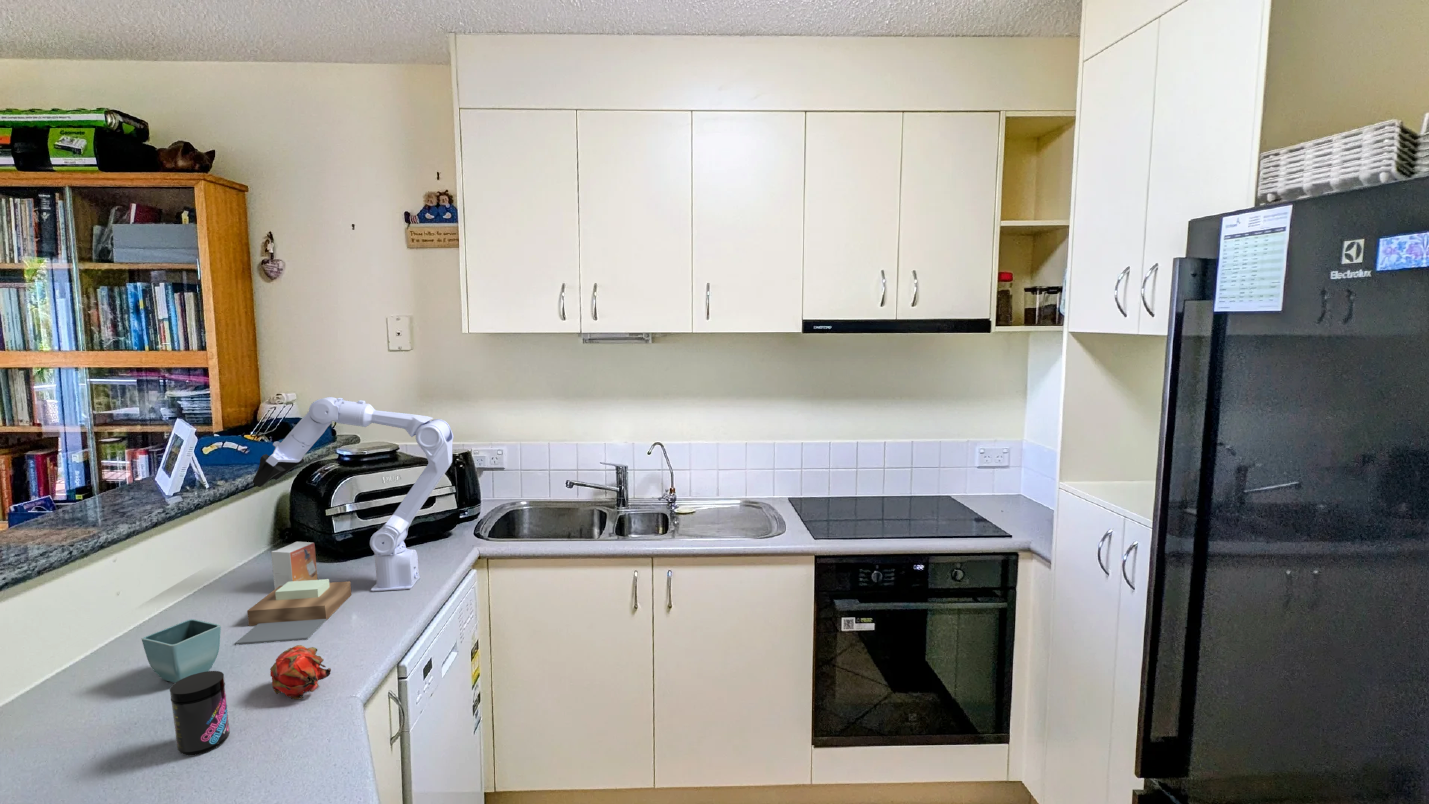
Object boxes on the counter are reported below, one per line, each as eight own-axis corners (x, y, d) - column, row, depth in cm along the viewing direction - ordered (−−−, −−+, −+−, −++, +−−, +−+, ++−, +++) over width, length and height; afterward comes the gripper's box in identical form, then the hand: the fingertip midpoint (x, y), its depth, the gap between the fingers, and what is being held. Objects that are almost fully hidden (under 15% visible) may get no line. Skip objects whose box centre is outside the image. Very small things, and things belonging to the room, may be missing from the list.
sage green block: (329, 587, 158) (328, 579, 158) (318, 597, 152) (317, 589, 152) (289, 589, 157) (288, 581, 157) (276, 600, 151) (275, 591, 151)
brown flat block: (351, 595, 162) (350, 581, 162) (326, 620, 148) (325, 605, 148) (280, 599, 160) (279, 585, 160) (248, 625, 146) (247, 610, 146)
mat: (326, 620, 148) (326, 618, 148) (307, 639, 140) (307, 637, 140) (258, 625, 147) (258, 623, 146) (235, 644, 138) (234, 642, 138)
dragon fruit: (291, 684, 125) (317, 716, 118) (247, 676, 119) (271, 709, 111) (319, 642, 127) (346, 670, 120) (278, 631, 121) (303, 661, 114)
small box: (293, 594, 163) (289, 552, 162) (274, 592, 165) (270, 551, 163) (318, 581, 171) (315, 542, 170) (300, 580, 172) (296, 540, 171)
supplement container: (193, 762, 101) (186, 697, 99) (167, 751, 103) (159, 688, 102) (240, 736, 107) (233, 675, 106) (214, 727, 110) (207, 667, 108)
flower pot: (227, 668, 128) (222, 624, 127) (177, 692, 120) (172, 645, 119) (195, 661, 131) (190, 618, 130) (145, 684, 123) (139, 638, 122)
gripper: (302, 423, 167) (266, 464, 167) (272, 432, 153) (233, 476, 153) (325, 441, 168) (290, 481, 168) (298, 451, 154) (259, 495, 154)
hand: (264, 480), depth 160 cm, fingers open, 7 cm apart
